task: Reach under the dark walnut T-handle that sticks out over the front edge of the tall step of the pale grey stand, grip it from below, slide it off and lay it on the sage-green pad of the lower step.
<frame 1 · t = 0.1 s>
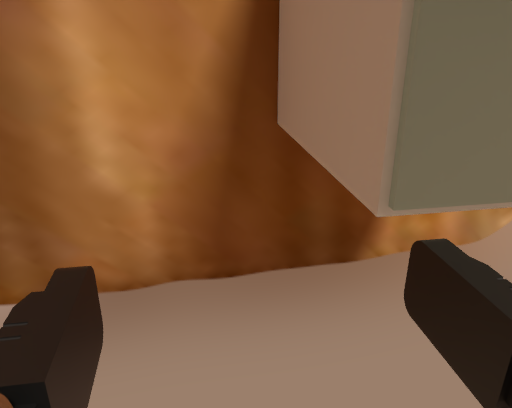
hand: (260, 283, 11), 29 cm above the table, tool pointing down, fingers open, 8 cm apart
stepped stand: (358, 4, 36), on the table
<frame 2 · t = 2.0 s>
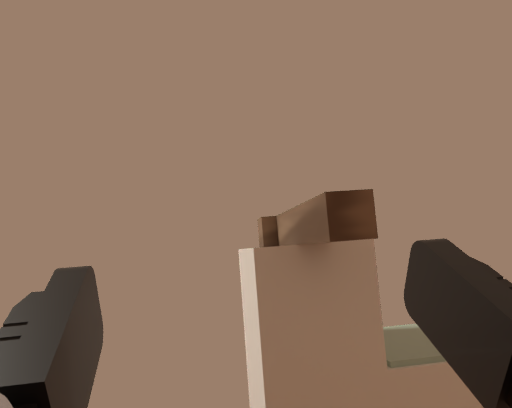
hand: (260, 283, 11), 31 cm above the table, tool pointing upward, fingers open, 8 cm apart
walnut T-handle: (311, 243, 35), point 32 cm above the table, touching stepped stand
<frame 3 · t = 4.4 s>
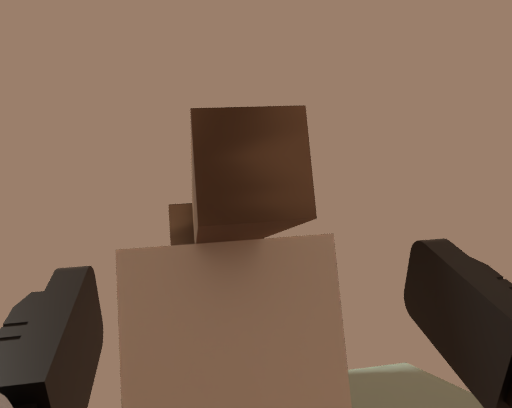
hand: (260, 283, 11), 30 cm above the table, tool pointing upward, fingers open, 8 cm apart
walnut T-handle: (227, 242, 20), point 32 cm above the table, touching stepped stand
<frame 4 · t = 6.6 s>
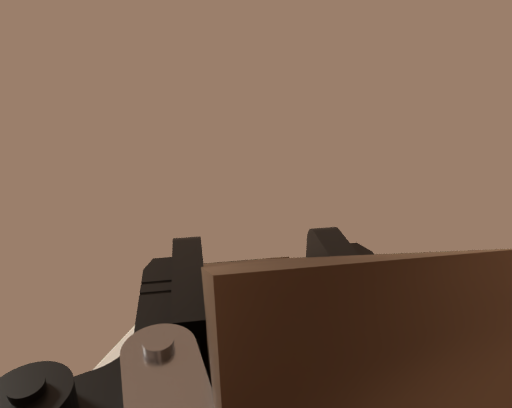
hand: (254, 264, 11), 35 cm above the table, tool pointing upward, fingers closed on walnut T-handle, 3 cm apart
walnut T-handle: (253, 358, 13), point 32 cm above the table, touching gripper, stepped stand
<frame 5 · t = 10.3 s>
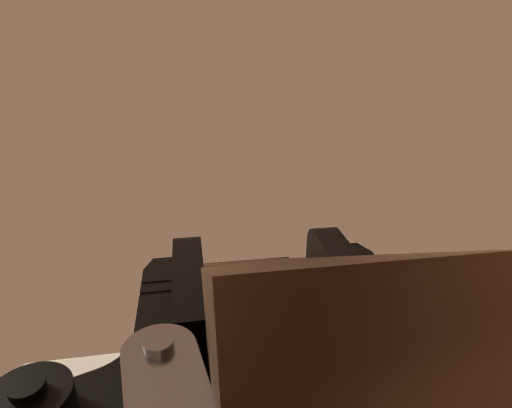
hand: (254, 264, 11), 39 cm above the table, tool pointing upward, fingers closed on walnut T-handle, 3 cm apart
walnut T-handle: (253, 359, 13), point 36 cm above the table, touching gripper
when the fingers open (27 cm above the table, at t = 14.1 s): walnut T-handle drops 2 cm, resting on stepped stand.
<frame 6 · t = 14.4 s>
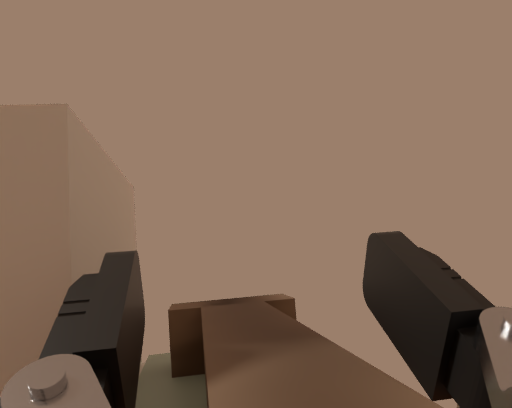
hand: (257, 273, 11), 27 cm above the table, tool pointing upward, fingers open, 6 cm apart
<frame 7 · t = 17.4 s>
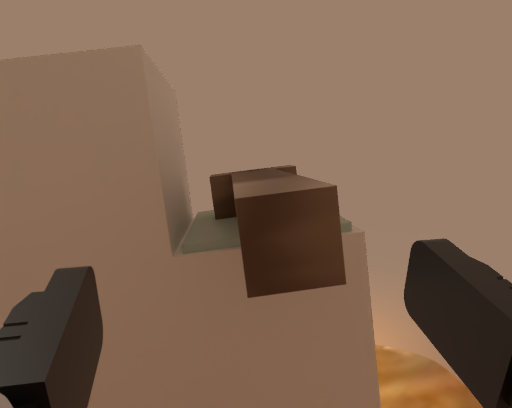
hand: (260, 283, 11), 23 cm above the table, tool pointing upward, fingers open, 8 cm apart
walnut T-handle: (267, 231, 23), point 22 cm above the table, touching stepped stand
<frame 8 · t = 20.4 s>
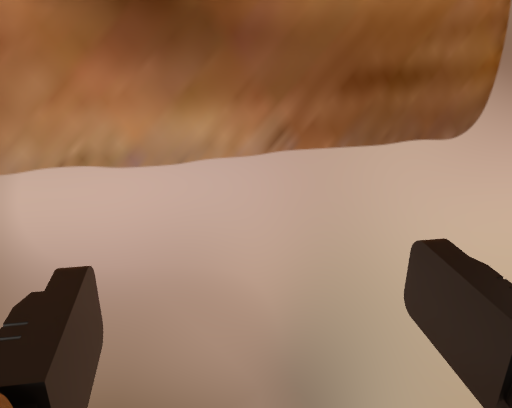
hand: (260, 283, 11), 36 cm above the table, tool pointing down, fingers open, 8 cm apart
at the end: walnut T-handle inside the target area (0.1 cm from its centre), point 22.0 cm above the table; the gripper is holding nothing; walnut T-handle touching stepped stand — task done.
